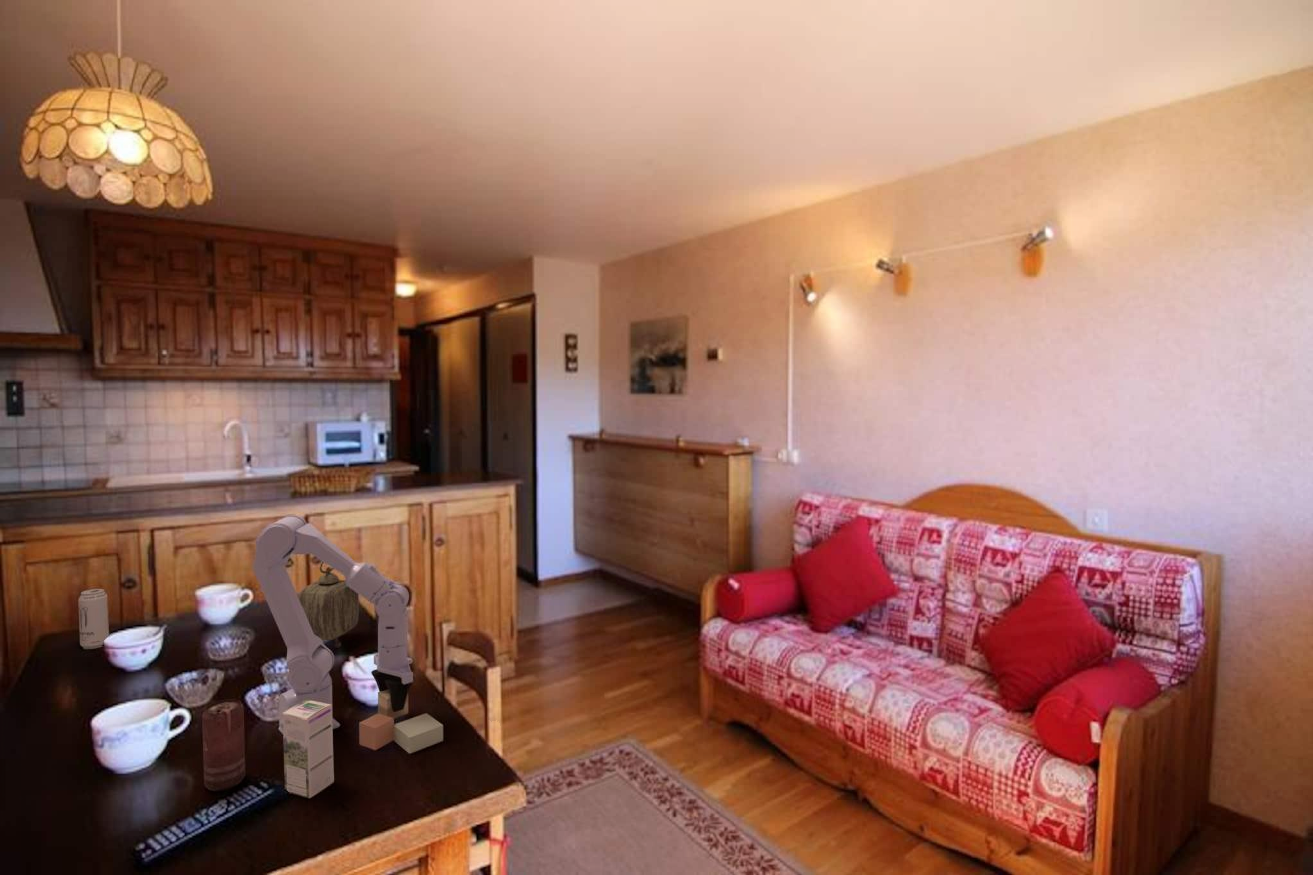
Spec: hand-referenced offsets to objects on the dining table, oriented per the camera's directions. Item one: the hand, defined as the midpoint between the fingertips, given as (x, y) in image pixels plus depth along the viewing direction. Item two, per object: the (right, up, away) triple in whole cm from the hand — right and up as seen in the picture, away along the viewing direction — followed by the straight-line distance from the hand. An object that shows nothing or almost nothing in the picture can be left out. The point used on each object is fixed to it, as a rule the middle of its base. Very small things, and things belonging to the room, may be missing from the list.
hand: (392, 706), depth 141 cm
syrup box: (-5, -5, -24) cm, 25 cm away
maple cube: (0, -2, 0) cm, 2 cm away
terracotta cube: (0, -4, -8) cm, 9 cm away
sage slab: (+8, -4, -7) cm, 12 cm away
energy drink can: (-97, 0, +40) cm, 105 cm away
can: (-21, -5, -23) cm, 31 cm away
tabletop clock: (-33, -1, +41) cm, 52 cm away
